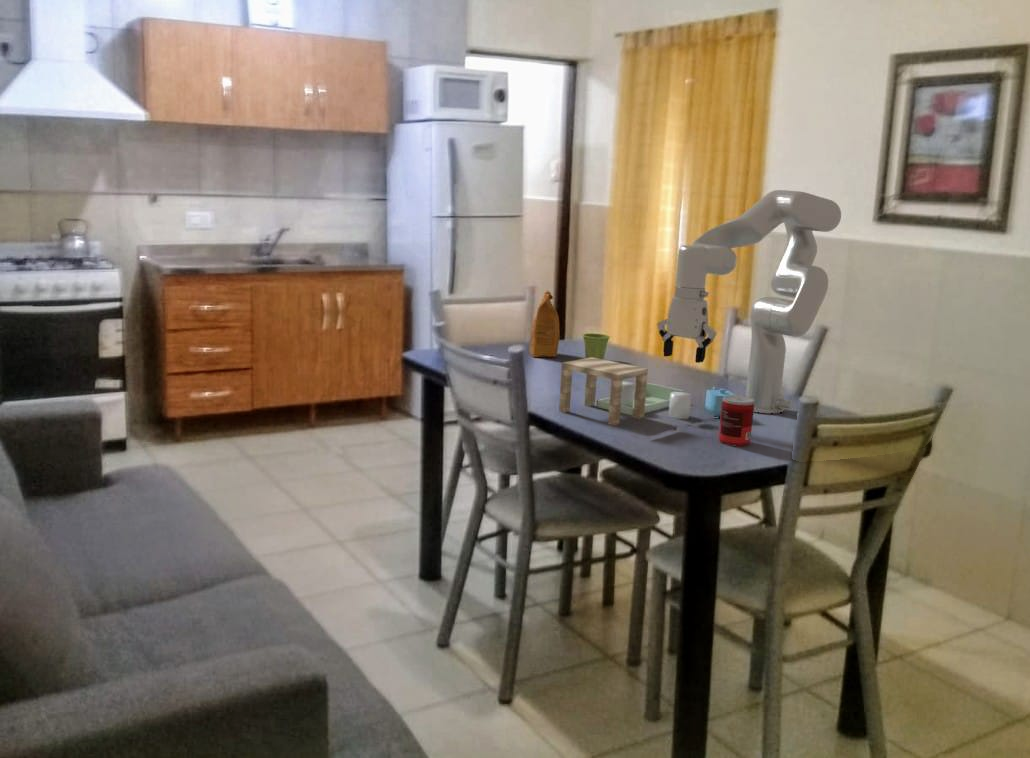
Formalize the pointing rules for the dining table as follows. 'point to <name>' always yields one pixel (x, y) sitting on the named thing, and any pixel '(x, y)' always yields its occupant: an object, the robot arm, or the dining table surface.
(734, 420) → the canned food
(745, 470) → the dining table surface
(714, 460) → the dining table surface
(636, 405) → the miniature wooden table
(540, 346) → the coffee package
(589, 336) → the plant pot
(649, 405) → the tray
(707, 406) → the teapot
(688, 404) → the white piece
